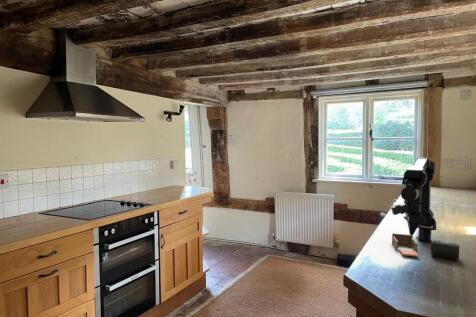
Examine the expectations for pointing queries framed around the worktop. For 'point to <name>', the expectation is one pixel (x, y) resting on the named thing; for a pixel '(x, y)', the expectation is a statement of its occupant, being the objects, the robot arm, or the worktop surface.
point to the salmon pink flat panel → (409, 252)
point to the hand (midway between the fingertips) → (411, 234)
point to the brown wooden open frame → (404, 241)
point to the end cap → (445, 250)
